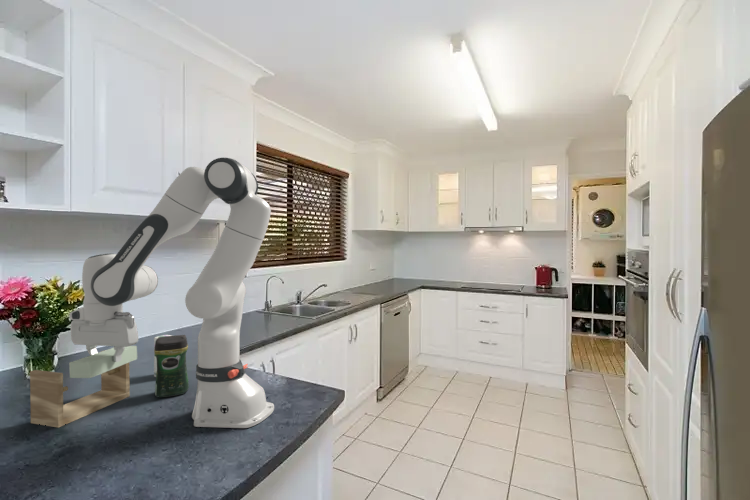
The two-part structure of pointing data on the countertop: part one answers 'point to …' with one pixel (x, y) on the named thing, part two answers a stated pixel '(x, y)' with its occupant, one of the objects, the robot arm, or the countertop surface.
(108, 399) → the shelf unit
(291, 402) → the countertop surface
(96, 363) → the shelf board
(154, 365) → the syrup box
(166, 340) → the coffee jar
